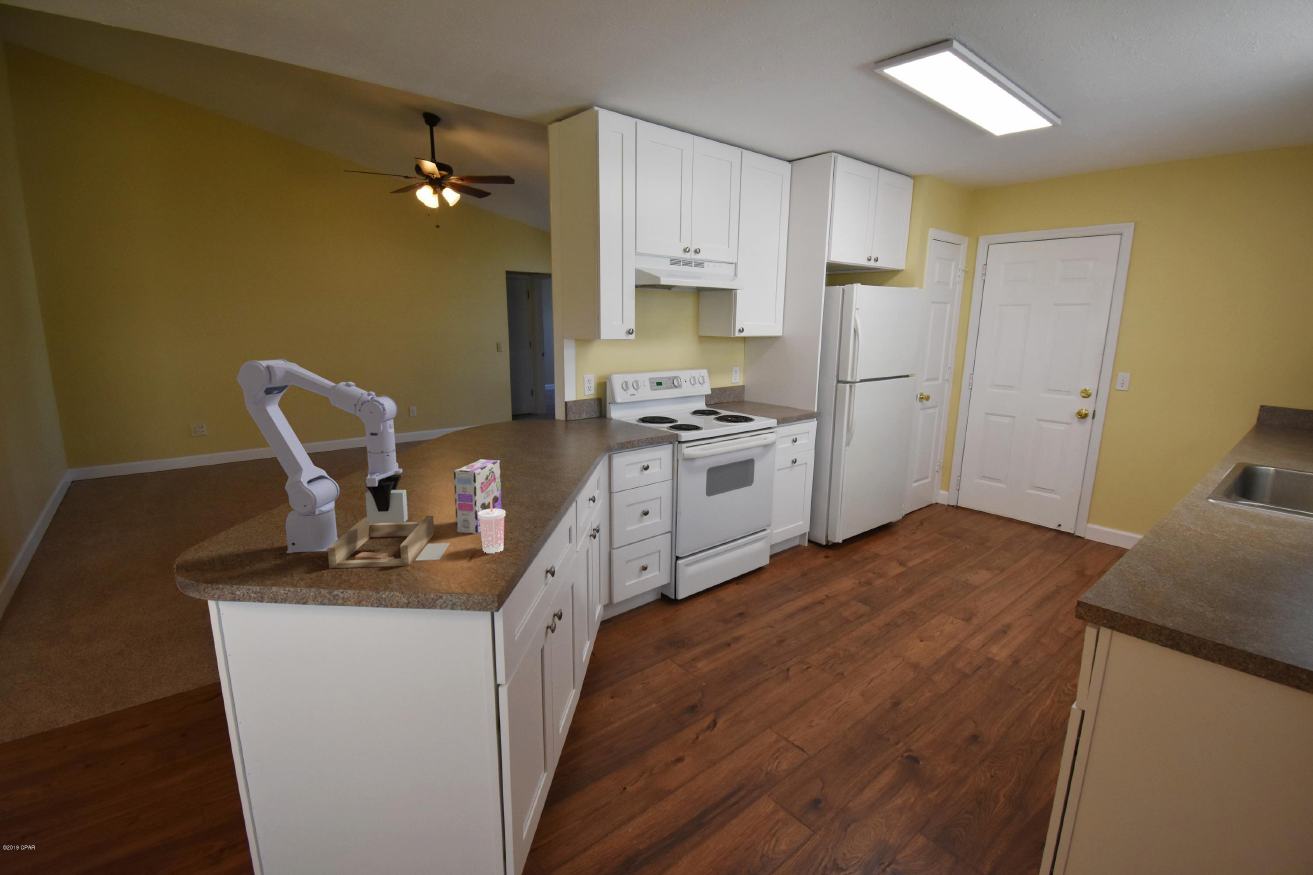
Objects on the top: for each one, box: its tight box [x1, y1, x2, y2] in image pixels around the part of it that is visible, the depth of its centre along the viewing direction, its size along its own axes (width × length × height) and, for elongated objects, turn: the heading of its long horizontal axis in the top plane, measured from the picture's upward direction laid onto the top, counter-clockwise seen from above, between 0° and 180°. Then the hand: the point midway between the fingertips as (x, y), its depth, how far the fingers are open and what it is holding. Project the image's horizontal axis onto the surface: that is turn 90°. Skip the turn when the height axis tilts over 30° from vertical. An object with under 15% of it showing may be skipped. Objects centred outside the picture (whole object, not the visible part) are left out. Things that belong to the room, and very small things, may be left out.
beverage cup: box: [478, 491, 506, 554], centre depth 130 cm, size 6×6×14 cm
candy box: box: [453, 458, 503, 535], centre depth 146 cm, size 14×6×16 cm, turn 168°
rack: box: [327, 515, 435, 569], centre depth 129 cm, size 16×20×5 cm
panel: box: [364, 489, 409, 523], centre depth 130 cm, size 8×2×7 cm, turn 96°
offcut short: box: [354, 551, 389, 560], centre depth 123 cm, size 6×2×1 cm, turn 83°
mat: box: [414, 542, 451, 562], centre depth 128 cm, size 5×10×1 cm, turn 7°
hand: (385, 509), depth 130 cm, fingers closed on panel, 2 cm apart
